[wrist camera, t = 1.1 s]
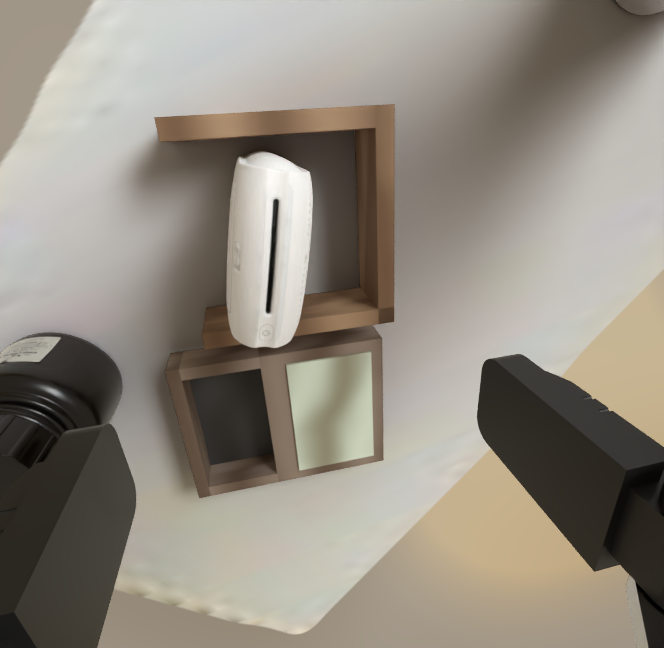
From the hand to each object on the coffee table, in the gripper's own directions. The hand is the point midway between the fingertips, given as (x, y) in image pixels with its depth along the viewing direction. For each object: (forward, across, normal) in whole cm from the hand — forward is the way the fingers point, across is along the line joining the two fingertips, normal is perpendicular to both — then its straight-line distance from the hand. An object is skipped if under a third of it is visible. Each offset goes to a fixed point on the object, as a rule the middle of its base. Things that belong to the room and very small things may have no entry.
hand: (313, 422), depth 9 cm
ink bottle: (+24, +17, +10) cm, 32 cm away
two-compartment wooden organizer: (+24, 0, +16) cm, 29 cm away
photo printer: (+24, 0, 0) cm, 24 cm away
